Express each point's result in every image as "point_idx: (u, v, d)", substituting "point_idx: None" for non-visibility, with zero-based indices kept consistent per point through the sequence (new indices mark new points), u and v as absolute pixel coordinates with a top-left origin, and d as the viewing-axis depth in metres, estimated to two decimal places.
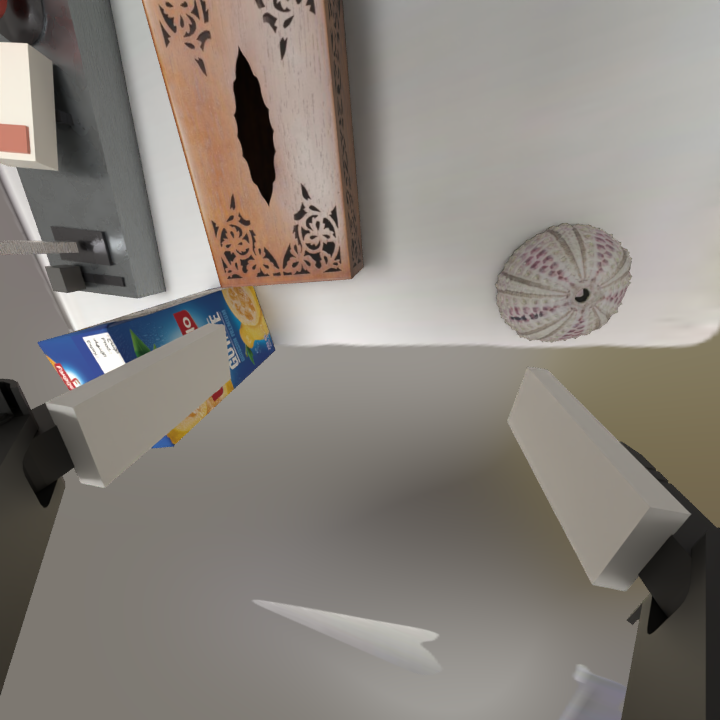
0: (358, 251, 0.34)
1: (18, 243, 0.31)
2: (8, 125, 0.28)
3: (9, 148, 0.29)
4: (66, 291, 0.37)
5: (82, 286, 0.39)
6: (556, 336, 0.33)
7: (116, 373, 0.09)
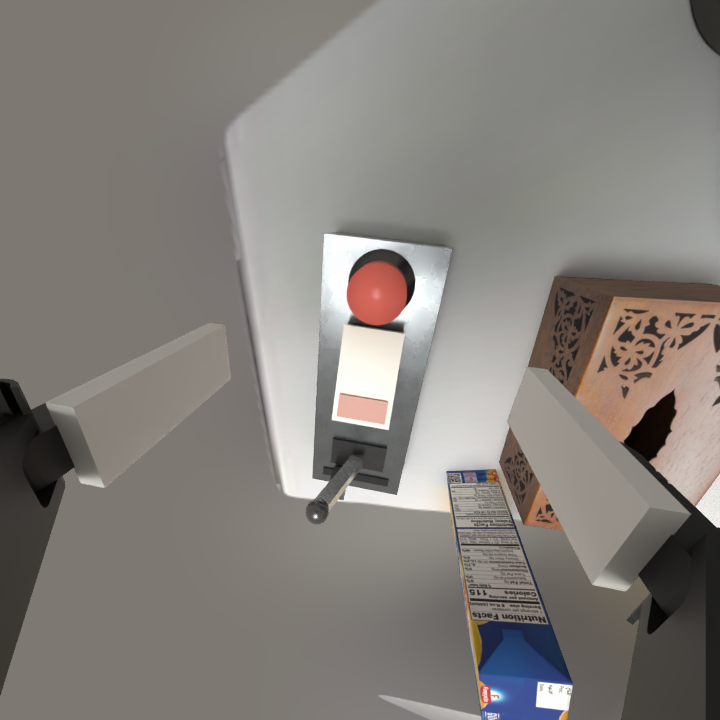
0: None
1: (342, 487, 0.33)
2: (369, 400, 0.29)
3: (365, 418, 0.30)
4: (342, 498, 0.38)
5: None
6: None
7: (116, 373, 0.09)
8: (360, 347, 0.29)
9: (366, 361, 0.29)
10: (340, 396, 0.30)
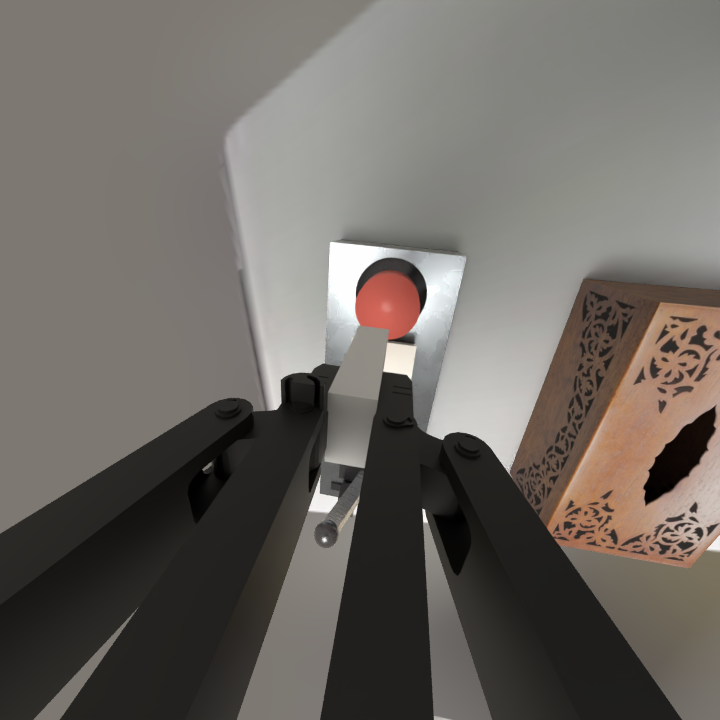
0: (651, 499, 0.34)
1: (352, 506, 0.31)
2: None
3: None
4: (351, 516, 0.36)
5: None
6: None
7: (346, 369, 0.10)
8: None
9: None
10: None
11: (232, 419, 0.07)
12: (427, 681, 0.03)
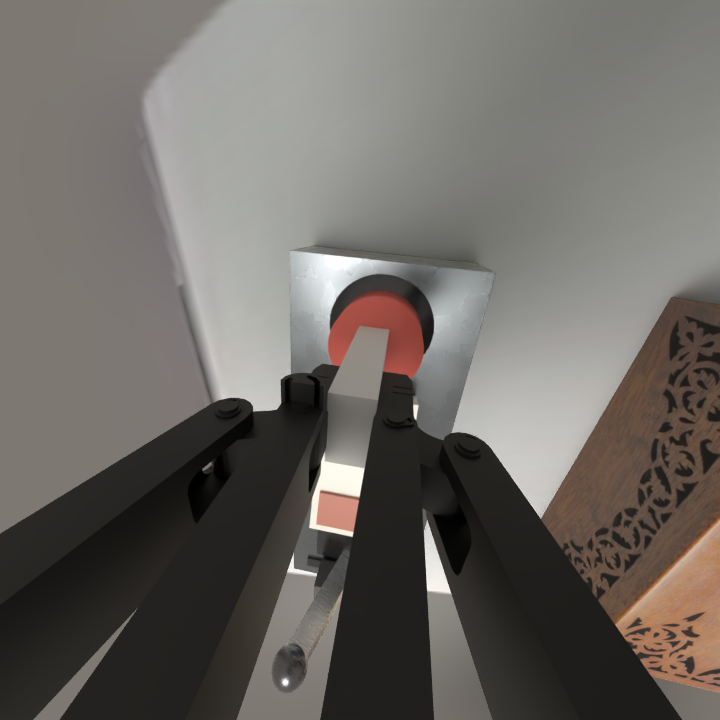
0: None
1: (329, 615, 0.22)
2: None
3: None
4: None
5: None
6: None
7: (346, 369, 0.10)
8: None
9: None
10: (321, 496, 0.19)
11: (232, 419, 0.07)
12: (427, 681, 0.03)
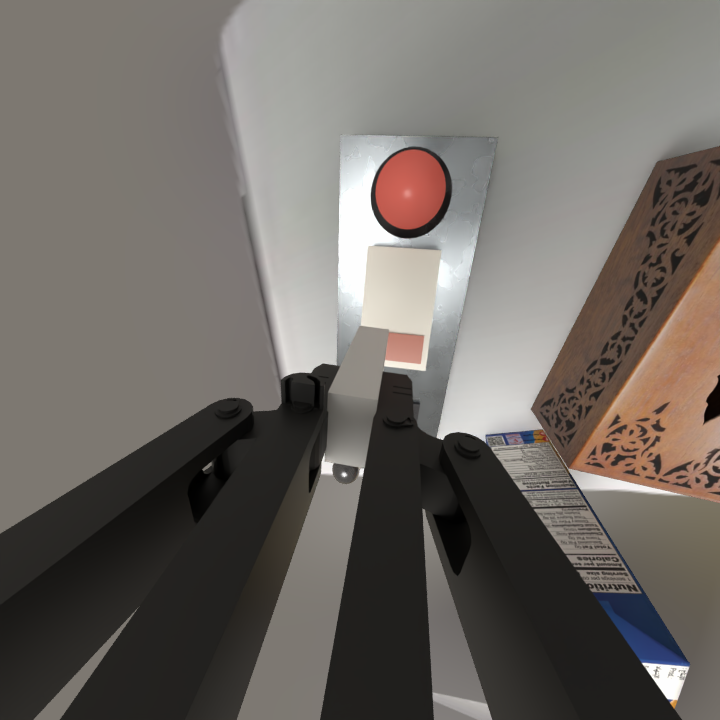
0: None
1: None
2: (401, 335, 0.25)
3: (397, 358, 0.25)
4: None
5: None
6: None
7: (346, 369, 0.10)
8: (388, 272, 0.24)
9: (396, 288, 0.24)
10: None
11: (232, 419, 0.07)
12: (427, 681, 0.03)
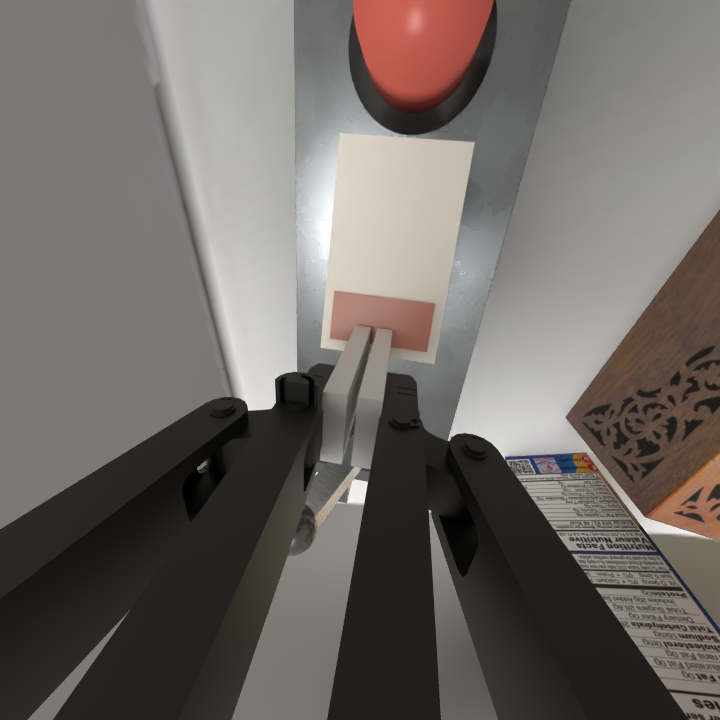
0: None
1: (343, 480, 0.17)
2: (396, 301, 0.14)
3: None
4: (345, 501, 0.23)
5: None
6: None
7: (342, 368, 0.10)
8: (376, 185, 0.14)
9: (388, 216, 0.14)
10: (336, 296, 0.15)
11: (226, 418, 0.07)
12: (434, 684, 0.03)
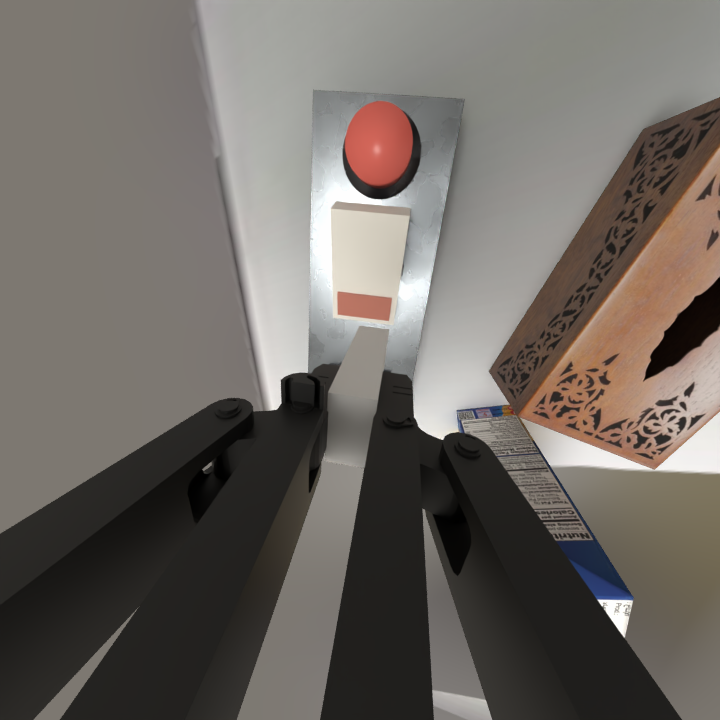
0: None
1: None
2: (371, 298, 0.26)
3: (368, 316, 0.28)
4: None
5: None
6: None
7: (346, 369, 0.10)
8: (354, 238, 0.23)
9: (363, 254, 0.24)
10: (338, 295, 0.27)
11: (232, 419, 0.07)
12: (427, 681, 0.03)
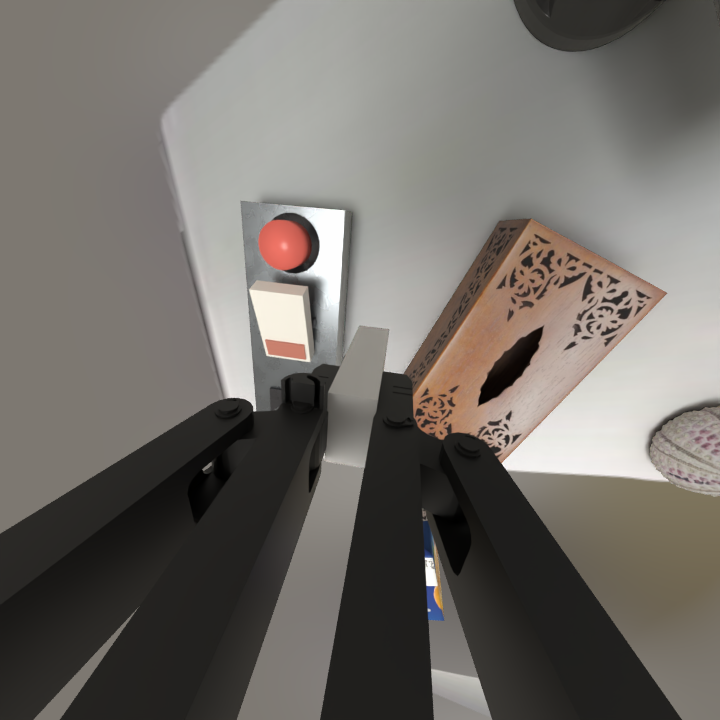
0: None
1: None
2: (289, 344, 0.36)
3: (290, 356, 0.38)
4: None
5: None
6: (714, 495, 0.39)
7: (346, 369, 0.10)
8: (269, 307, 0.33)
9: (277, 317, 0.34)
10: (266, 342, 0.36)
11: (232, 419, 0.07)
12: (427, 681, 0.03)
